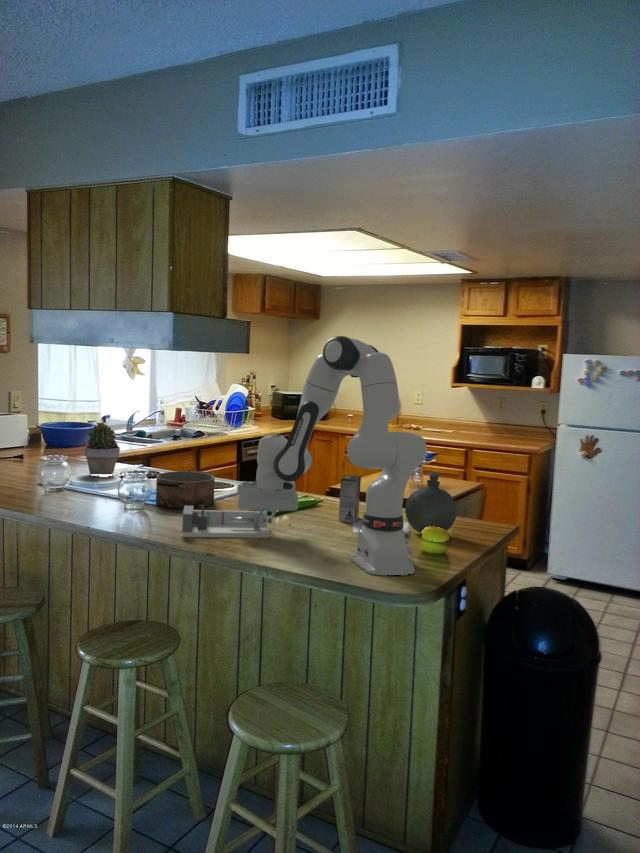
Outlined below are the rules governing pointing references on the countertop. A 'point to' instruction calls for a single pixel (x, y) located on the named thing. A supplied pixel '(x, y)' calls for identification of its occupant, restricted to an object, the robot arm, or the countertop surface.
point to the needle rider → (202, 519)
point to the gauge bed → (222, 524)
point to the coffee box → (349, 498)
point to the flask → (431, 506)
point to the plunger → (248, 520)
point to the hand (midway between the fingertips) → (266, 522)
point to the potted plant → (101, 450)
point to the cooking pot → (185, 489)
